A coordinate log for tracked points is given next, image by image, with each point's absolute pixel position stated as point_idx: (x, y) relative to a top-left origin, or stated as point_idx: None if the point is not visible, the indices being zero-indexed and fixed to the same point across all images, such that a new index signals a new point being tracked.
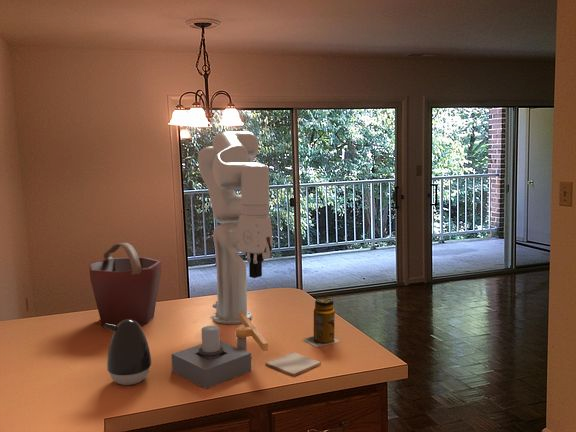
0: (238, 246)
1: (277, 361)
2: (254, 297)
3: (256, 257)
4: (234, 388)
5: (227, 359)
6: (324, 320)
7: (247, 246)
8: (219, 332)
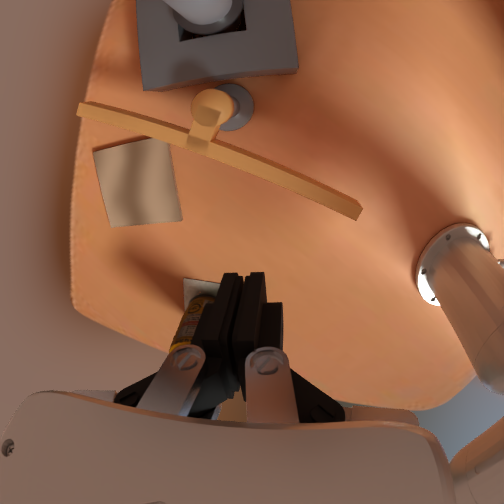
0: (403, 460)
1: (155, 160)
2: None
3: (150, 391)
4: (119, 30)
5: (148, 26)
6: (177, 333)
7: (167, 486)
8: (176, 9)
